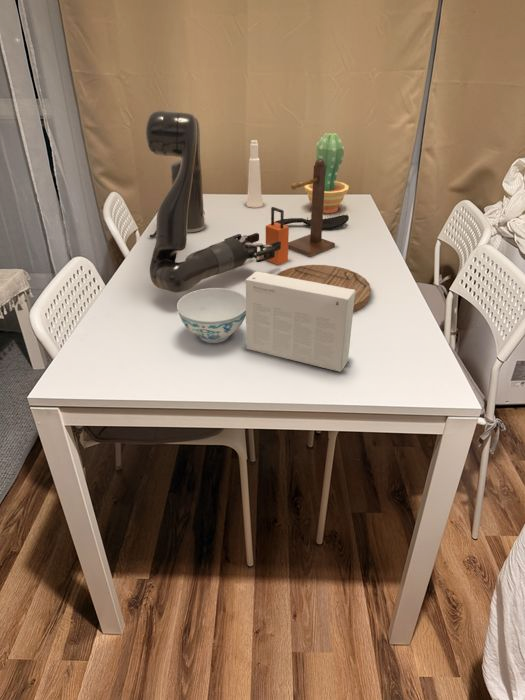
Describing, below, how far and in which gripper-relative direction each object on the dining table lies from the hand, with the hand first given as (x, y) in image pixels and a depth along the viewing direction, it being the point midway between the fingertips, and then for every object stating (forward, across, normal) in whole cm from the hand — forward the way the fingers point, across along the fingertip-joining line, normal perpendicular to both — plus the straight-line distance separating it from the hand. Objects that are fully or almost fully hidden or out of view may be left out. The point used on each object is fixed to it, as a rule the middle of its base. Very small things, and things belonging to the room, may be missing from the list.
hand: (269, 240), depth 146 cm
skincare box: (-28, -37, +7) cm, 47 cm away
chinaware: (-36, -19, +7) cm, 41 cm away
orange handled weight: (+3, 0, +7) cm, 7 cm away
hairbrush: (+30, +12, +7) cm, 33 cm away
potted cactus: (+47, +20, +7) cm, 51 cm away
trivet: (-3, -22, +7) cm, 23 cm away
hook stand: (+15, 0, +7) cm, 17 cm away
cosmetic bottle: (+32, +40, +7) cm, 52 cm away
